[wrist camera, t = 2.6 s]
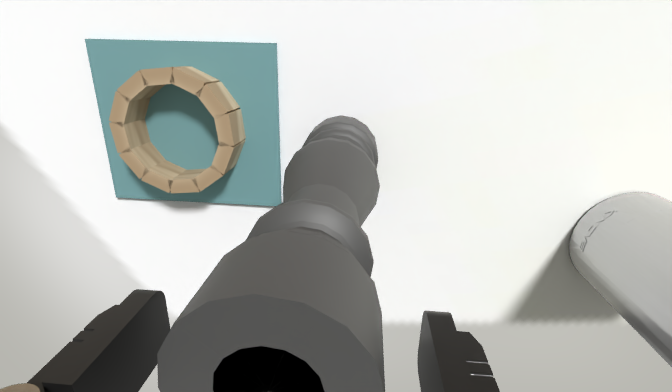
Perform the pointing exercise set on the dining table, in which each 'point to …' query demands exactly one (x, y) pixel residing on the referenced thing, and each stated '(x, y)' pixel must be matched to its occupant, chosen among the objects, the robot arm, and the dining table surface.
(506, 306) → the dining table surface
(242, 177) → the runner mat
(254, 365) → the candle holder
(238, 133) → the segmented wooden ring
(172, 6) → the dining table surface
